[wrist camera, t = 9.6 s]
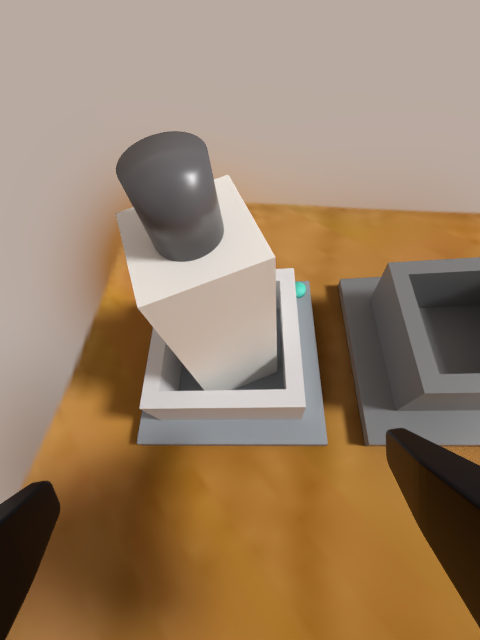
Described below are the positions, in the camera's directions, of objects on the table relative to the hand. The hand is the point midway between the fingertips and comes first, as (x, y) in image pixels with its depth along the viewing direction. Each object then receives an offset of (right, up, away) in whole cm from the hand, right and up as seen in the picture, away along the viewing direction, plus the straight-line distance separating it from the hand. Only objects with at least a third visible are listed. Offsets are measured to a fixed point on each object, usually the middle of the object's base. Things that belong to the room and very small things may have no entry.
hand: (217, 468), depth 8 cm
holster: (+12, +2, +9) cm, 16 cm away
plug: (0, +2, +10) cm, 10 cm away
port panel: (0, +2, +11) cm, 11 cm away
